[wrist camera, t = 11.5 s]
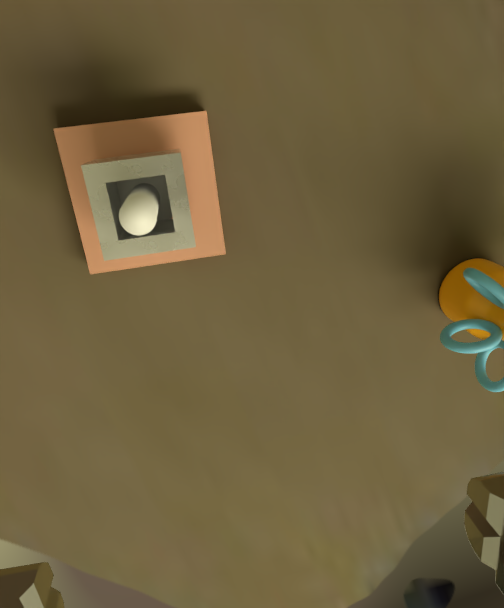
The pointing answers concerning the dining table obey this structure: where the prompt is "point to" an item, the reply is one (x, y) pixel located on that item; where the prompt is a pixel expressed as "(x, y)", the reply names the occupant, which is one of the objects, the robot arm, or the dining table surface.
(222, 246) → the shaft block
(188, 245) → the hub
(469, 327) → the orange vase with loops
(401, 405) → the dining table surface
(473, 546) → the robot arm
